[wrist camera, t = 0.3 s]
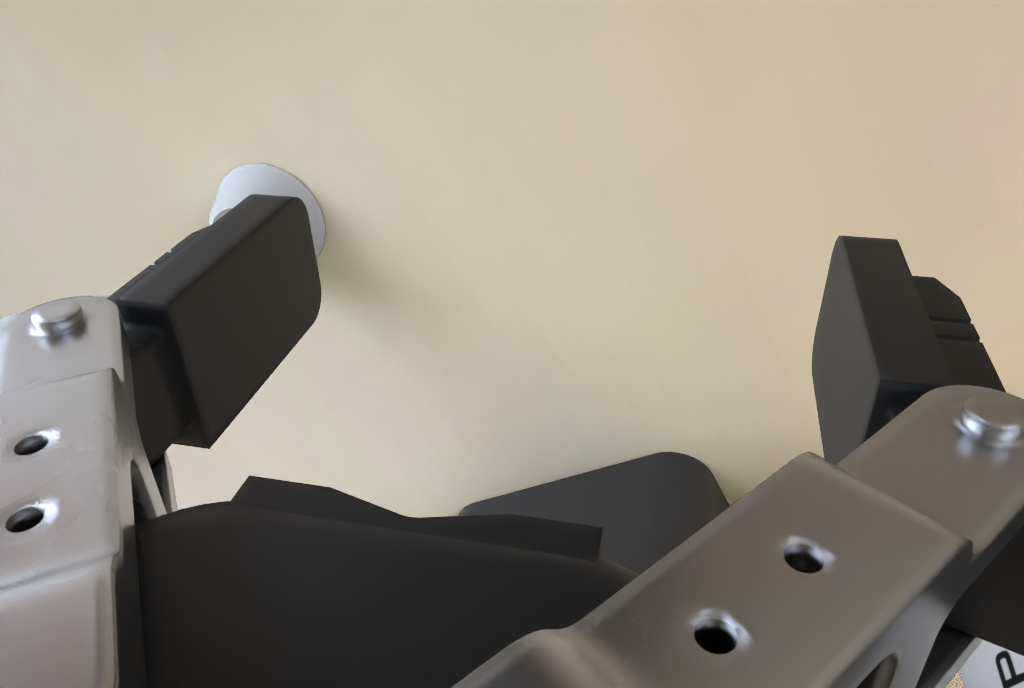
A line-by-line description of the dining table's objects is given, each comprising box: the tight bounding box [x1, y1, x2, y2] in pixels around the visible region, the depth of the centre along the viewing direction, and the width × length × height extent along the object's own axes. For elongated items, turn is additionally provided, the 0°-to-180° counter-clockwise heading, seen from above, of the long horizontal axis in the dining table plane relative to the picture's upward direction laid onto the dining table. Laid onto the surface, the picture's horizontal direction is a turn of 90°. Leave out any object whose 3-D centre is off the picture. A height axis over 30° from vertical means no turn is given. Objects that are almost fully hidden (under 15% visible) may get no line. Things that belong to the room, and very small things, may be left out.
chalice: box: [0, 163, 326, 333], centre depth 27 cm, size 7×7×18 cm
